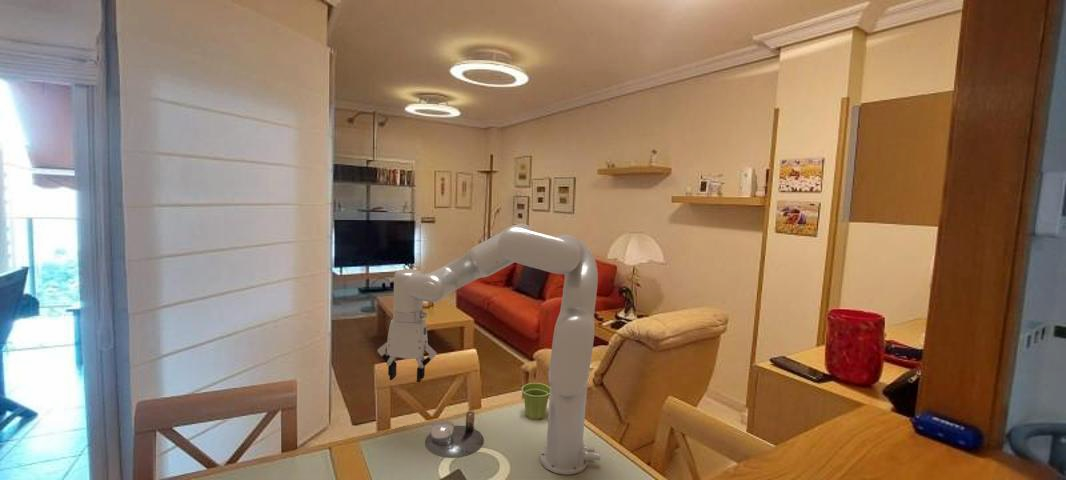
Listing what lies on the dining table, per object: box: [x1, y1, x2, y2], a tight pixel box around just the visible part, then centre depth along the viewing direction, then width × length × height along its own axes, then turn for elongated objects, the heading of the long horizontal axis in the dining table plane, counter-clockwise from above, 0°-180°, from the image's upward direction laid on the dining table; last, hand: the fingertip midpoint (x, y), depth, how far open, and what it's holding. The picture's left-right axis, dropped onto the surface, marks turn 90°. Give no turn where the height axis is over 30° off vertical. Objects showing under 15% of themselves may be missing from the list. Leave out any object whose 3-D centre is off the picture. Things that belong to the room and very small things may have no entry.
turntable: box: [424, 410, 485, 459], centre depth 125 cm, size 16×16×6 cm
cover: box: [430, 419, 455, 446], centre depth 125 cm, size 6×6×4 cm
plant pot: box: [521, 382, 550, 421], centre depth 144 cm, size 9×9×9 cm
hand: (406, 378), depth 124 cm, fingers open, 6 cm apart
